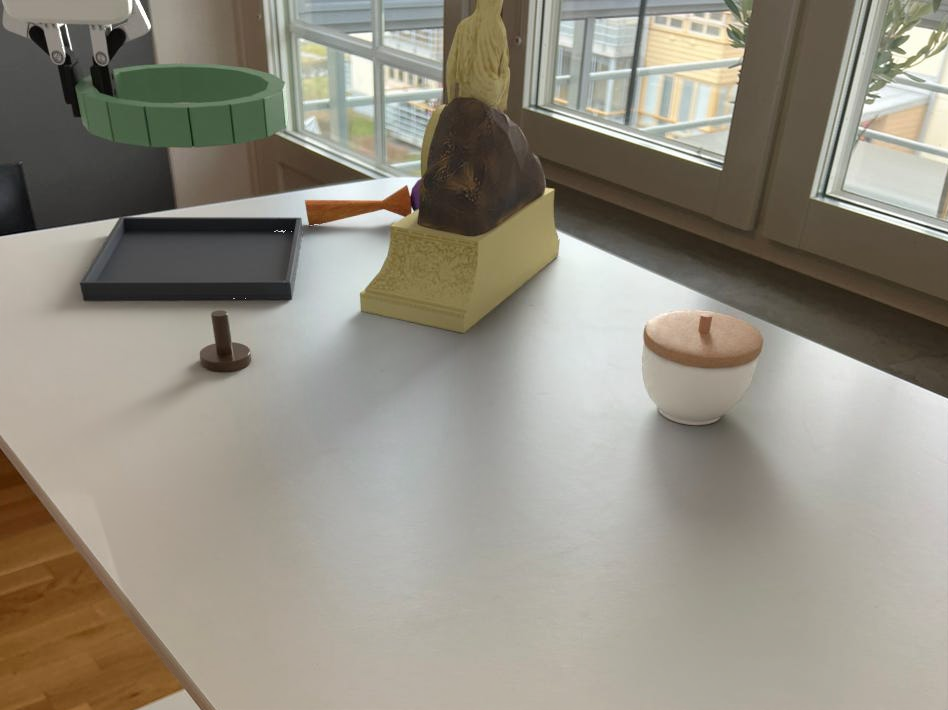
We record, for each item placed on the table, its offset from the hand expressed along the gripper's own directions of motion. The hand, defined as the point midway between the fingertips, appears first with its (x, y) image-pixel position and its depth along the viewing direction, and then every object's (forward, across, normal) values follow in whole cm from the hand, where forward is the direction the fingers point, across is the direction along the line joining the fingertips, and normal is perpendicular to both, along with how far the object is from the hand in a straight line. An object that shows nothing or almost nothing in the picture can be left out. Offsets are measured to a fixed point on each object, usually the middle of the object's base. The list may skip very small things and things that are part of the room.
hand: (94, 112), depth 87 cm
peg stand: (+22, +9, -2) cm, 24 cm away
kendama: (+22, +24, +41) cm, 53 cm away
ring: (+1, +8, 0) cm, 8 cm away
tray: (+22, +3, +26) cm, 34 cm away
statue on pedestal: (+22, +35, +20) cm, 46 cm away
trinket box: (+22, +54, -14) cm, 60 cm away
